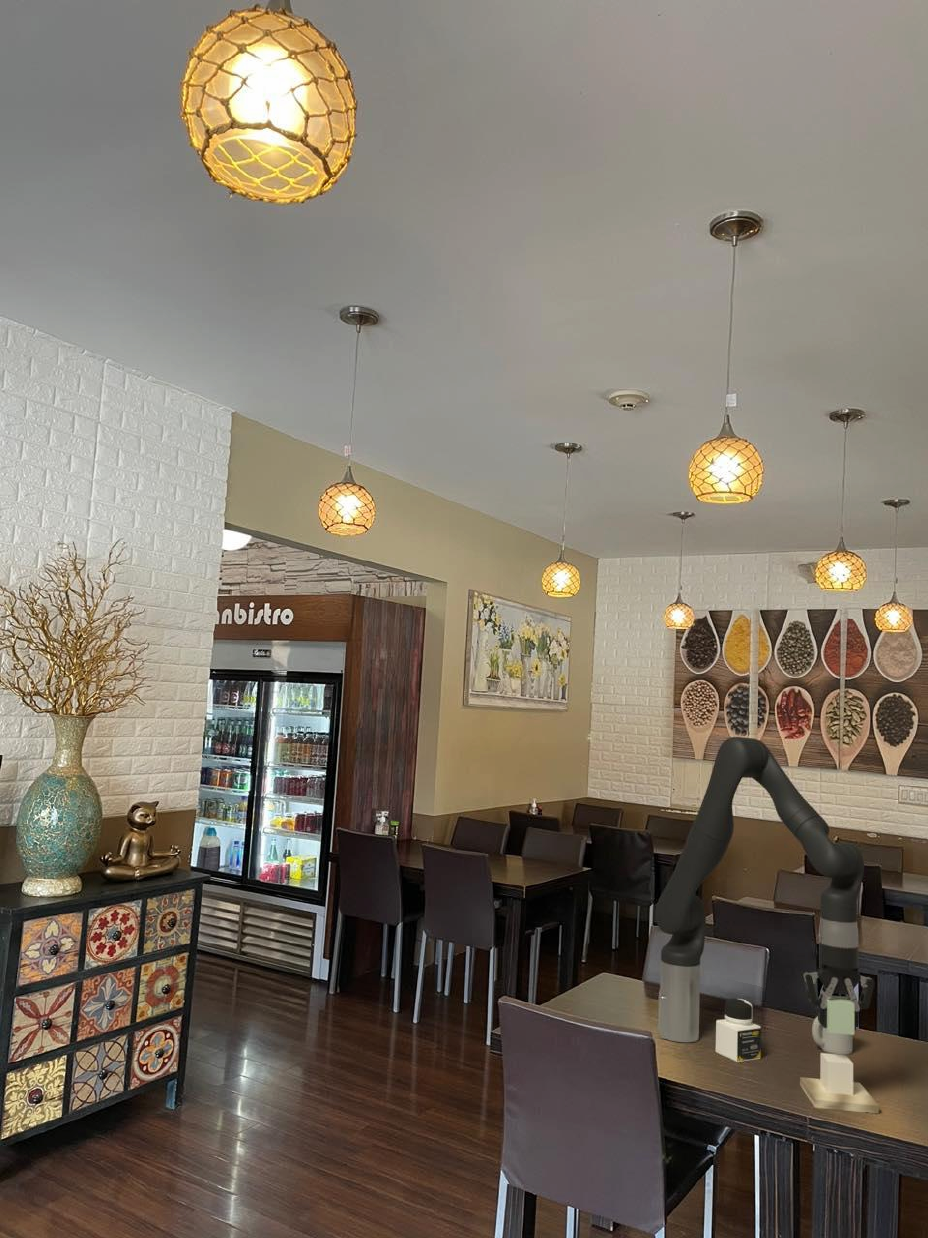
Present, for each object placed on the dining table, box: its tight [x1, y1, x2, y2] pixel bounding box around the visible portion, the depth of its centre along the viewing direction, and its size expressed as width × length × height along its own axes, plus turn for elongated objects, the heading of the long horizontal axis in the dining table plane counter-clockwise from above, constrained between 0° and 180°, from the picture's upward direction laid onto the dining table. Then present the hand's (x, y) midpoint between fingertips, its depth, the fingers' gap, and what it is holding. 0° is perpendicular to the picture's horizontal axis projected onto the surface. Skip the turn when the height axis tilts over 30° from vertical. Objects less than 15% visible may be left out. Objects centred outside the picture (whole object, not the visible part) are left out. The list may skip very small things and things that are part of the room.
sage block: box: [825, 995, 855, 1036], centre depth 190 cm, size 5×5×6 cm
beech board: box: [799, 1076, 880, 1114], centre depth 188 cm, size 12×12×2 cm
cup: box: [811, 1015, 853, 1056], centre depth 218 cm, size 7×10×9 cm
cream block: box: [819, 1052, 854, 1095], centre depth 189 cm, size 5×5×6 cm
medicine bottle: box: [715, 998, 762, 1063], centre depth 211 cm, size 7×7×12 cm
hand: (838, 1027), depth 189 cm, fingers closed on sage block, 5 cm apart
